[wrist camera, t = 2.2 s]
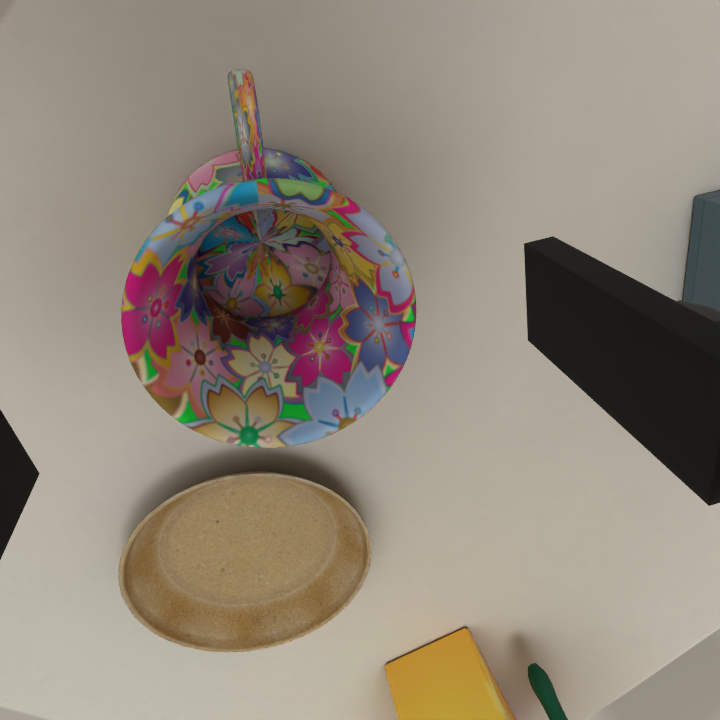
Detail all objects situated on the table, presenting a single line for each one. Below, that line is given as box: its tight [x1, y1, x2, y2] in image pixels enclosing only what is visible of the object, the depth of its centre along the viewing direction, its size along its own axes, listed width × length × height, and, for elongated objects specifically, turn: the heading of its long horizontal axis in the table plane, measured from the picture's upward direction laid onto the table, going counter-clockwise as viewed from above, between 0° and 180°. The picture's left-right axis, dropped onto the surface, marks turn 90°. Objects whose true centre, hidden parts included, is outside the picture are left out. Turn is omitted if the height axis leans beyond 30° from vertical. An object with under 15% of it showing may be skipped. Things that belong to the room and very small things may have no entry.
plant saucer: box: [118, 472, 371, 652], centre depth 35 cm, size 15×15×3 cm
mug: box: [121, 69, 416, 448], centre depth 22 cm, size 12×9×11 cm
